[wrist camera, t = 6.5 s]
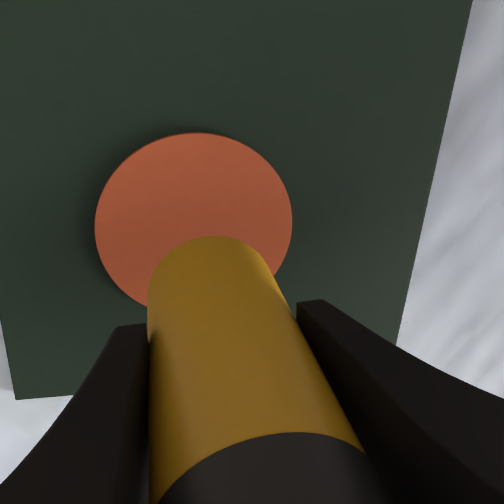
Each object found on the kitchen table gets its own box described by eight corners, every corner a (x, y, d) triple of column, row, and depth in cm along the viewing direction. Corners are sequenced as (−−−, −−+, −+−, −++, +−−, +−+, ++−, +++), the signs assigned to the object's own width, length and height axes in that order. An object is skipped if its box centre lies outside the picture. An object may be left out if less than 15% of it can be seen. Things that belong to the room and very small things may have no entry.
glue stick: (272, 226, 12) (470, 526, 5) (274, 336, 14) (426, 697, 6) (136, 240, 12) (121, 608, 4) (153, 353, 13) (163, 775, 6)
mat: (473, -35, 15) (485, -37, 15) (387, 362, 22) (393, 370, 21) (-73, -94, 12) (-83, -100, 12) (17, 393, 19) (14, 404, 18)
